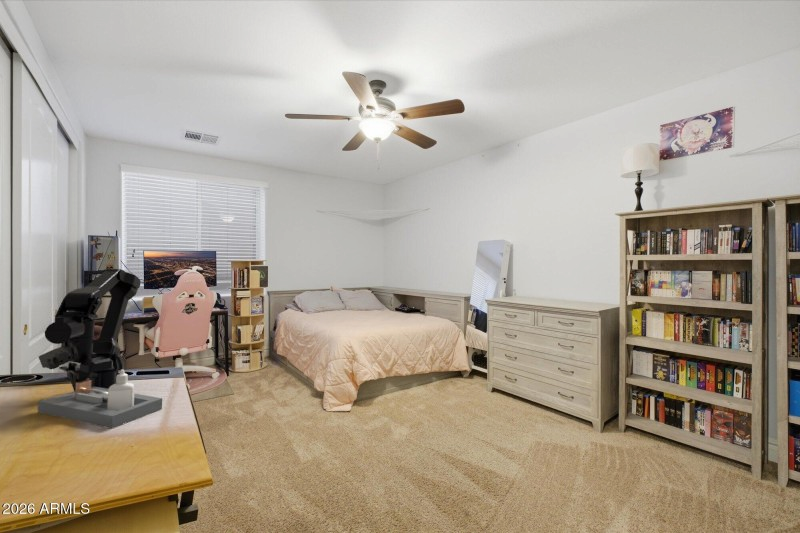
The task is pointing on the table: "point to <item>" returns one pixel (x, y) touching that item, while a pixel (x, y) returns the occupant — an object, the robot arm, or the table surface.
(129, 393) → the eye dropper bottle
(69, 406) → the dock block
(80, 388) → the lock pin
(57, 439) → the table surface
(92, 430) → the table surface
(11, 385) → the table surface
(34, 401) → the table surface
